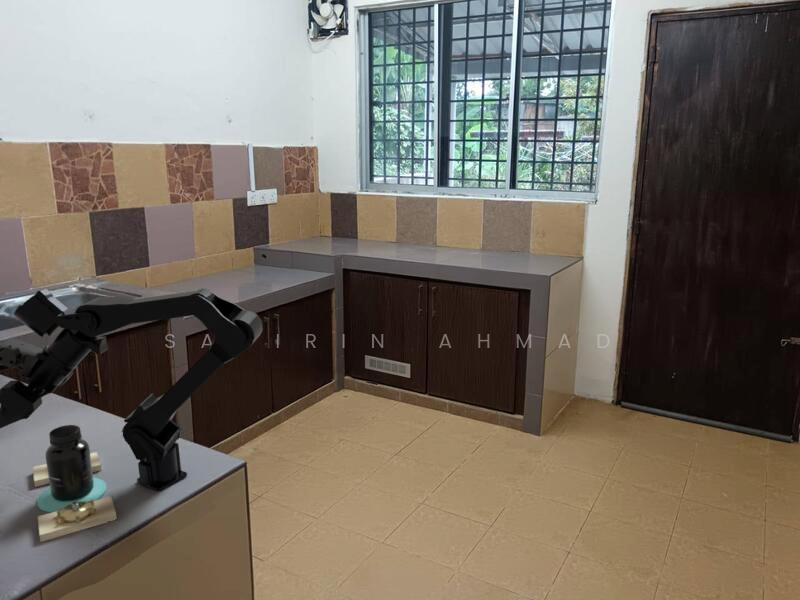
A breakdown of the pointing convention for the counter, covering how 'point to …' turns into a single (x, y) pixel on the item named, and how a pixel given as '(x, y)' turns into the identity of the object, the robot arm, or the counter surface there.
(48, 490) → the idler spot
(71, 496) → the supplement bottle
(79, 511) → the brass gears
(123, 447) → the counter surface
